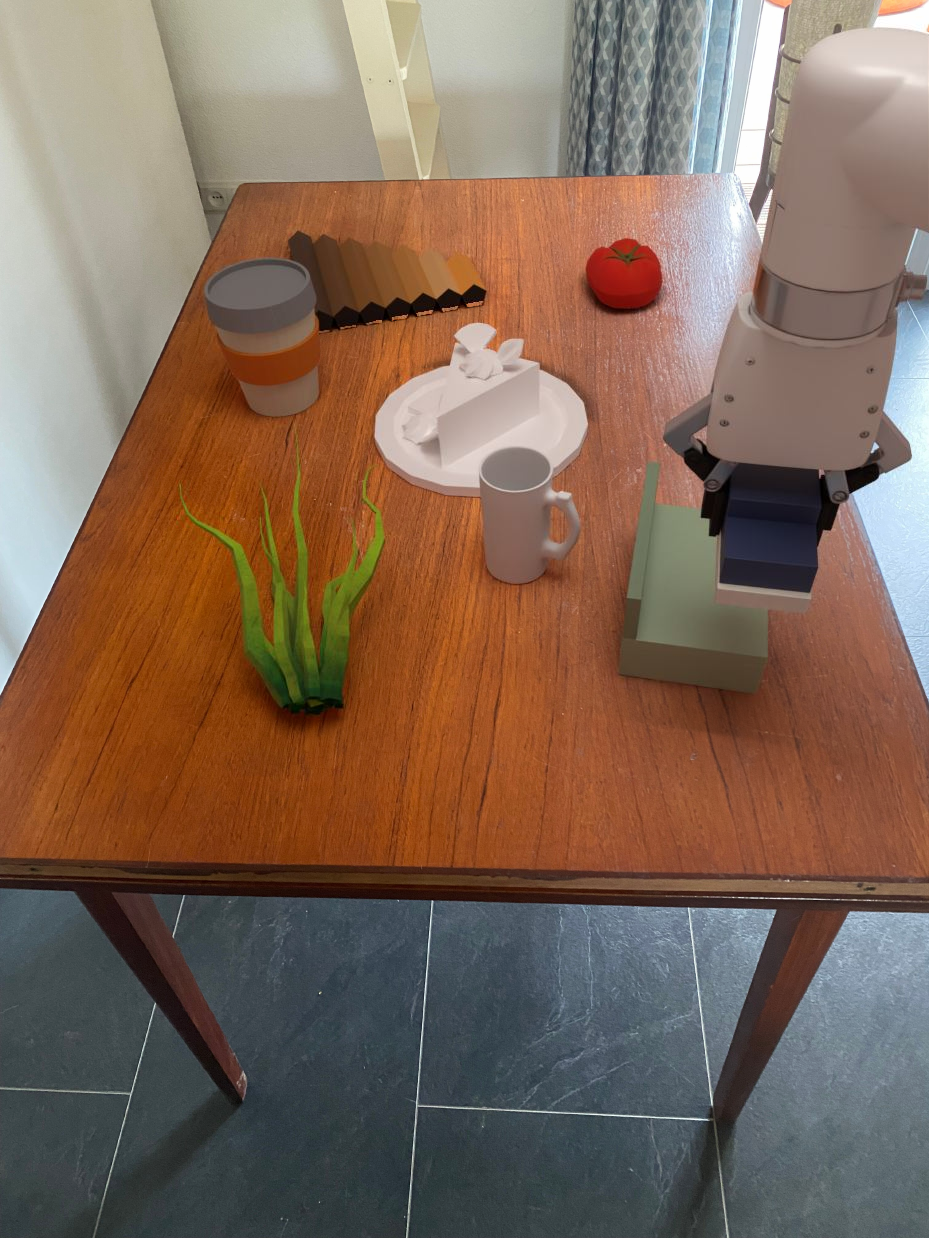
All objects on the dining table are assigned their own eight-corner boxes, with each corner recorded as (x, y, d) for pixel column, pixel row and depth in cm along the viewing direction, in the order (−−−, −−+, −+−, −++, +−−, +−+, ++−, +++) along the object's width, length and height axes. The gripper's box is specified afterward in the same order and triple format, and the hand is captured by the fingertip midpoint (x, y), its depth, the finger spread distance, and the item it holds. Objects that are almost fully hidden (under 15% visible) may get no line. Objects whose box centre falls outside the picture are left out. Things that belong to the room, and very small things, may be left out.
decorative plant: (421, 511, 98) (408, 394, 87) (344, 736, 78) (315, 621, 67) (263, 497, 100) (232, 382, 90) (151, 709, 81) (93, 595, 70)
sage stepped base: (759, 553, 90) (779, 474, 83) (756, 694, 79) (780, 616, 71) (638, 539, 93) (647, 461, 85) (617, 674, 81) (626, 597, 74)
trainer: (719, 474, 70) (731, 414, 66) (800, 481, 69) (817, 421, 65) (713, 604, 61) (727, 544, 57) (806, 614, 60) (826, 554, 56)
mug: (470, 572, 91) (464, 477, 82) (504, 532, 94) (501, 437, 86) (560, 607, 87) (564, 512, 78) (591, 564, 91) (598, 469, 82)
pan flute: (290, 253, 140) (309, 335, 123) (286, 232, 137) (305, 312, 121) (447, 228, 143) (487, 304, 126) (446, 207, 140) (486, 281, 124)
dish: (439, 354, 118) (432, 271, 110) (619, 398, 109) (626, 312, 101) (334, 460, 104) (317, 375, 96) (531, 521, 95) (531, 433, 87)
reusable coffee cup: (278, 358, 120) (252, 248, 108) (353, 384, 115) (334, 271, 103) (212, 407, 113) (178, 294, 102) (289, 436, 108) (261, 321, 97)
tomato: (602, 322, 121) (605, 275, 117) (577, 283, 129) (579, 238, 124) (671, 310, 123) (676, 263, 118) (642, 273, 130) (646, 228, 125)
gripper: (977, 267, 52) (885, 506, 65) (671, 252, 55) (643, 484, 68) (999, 336, 47) (896, 579, 60) (662, 315, 50) (634, 551, 64)
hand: (762, 526), depth 64 cm, fingers closed on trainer, 6 cm apart
